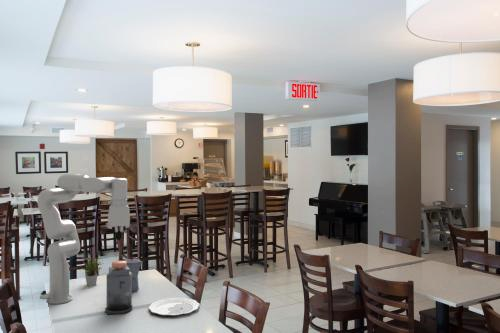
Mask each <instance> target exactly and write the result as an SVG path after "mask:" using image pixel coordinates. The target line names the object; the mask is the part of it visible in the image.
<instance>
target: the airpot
mask: <svg viewBox="0 0 500 333" xmlns="http://www.w3.org/2000/svg"><path fill="white" fill-rule="evenodd" d="M132 295H133V294H132V273H131V272H130V269H129V268H128V267H127V266H126V267H124V268H121V269H117V268H112V266H109V267H108V273H107V274H106V301H105V302H106V305H105V313H106V314H107V315H110V316H111V315H112V316H119V315H125V314H128V313H131V312H132V311H133V309H134V307H133V304H132V302H133V300H132V299H133V298H132V297H133V296H132Z"/></svg>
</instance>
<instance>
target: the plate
mask: <svg viewBox="0 0 500 333" xmlns="http://www.w3.org/2000/svg"><path fill="white" fill-rule="evenodd" d="M182 303H188V304H191V305H192V306H193V309H192V310H191V311H189V312H186V313H181V314H168V313H169V312H170V311H171V310H169V309H170V308H174V305H176V304H182ZM200 305H201V304H200V303H199V302H198V301H197V300H195V299H191V298H188V297H169V298H161V299H159V300H156V301H154V302H151V304H150V305H149V306H148V309H149V311H150V312H151V313H153V314H156V315H160V316H164V317H177V316H176V315H179V316H182V315H183V314H184V315H188V314H191V313H193V312H195V311H197V310H198V309H199V307H200ZM168 310H169V311H168ZM184 315H183V316H184Z"/></svg>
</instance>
